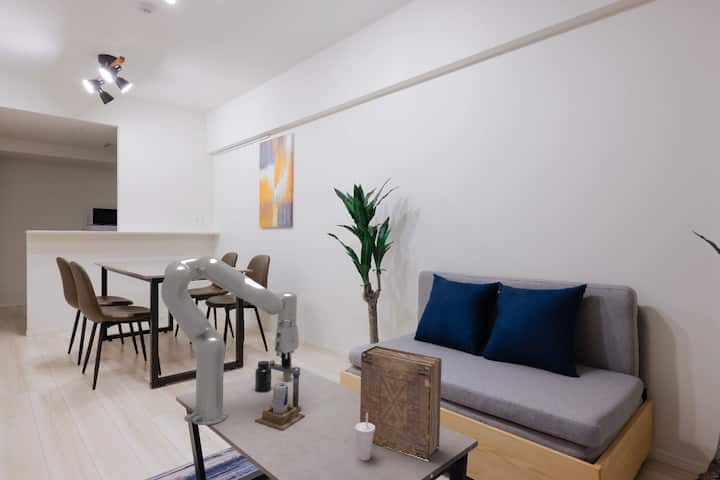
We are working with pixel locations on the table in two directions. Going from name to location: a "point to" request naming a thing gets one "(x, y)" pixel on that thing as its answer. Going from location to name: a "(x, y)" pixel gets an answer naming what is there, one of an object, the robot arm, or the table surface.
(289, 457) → the table surface
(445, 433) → the table surface
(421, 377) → the book
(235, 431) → the table surface
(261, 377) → the supplement bottle
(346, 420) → the table surface
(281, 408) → the energy drink
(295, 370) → the lever
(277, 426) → the collar base
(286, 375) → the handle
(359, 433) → the smoothie
